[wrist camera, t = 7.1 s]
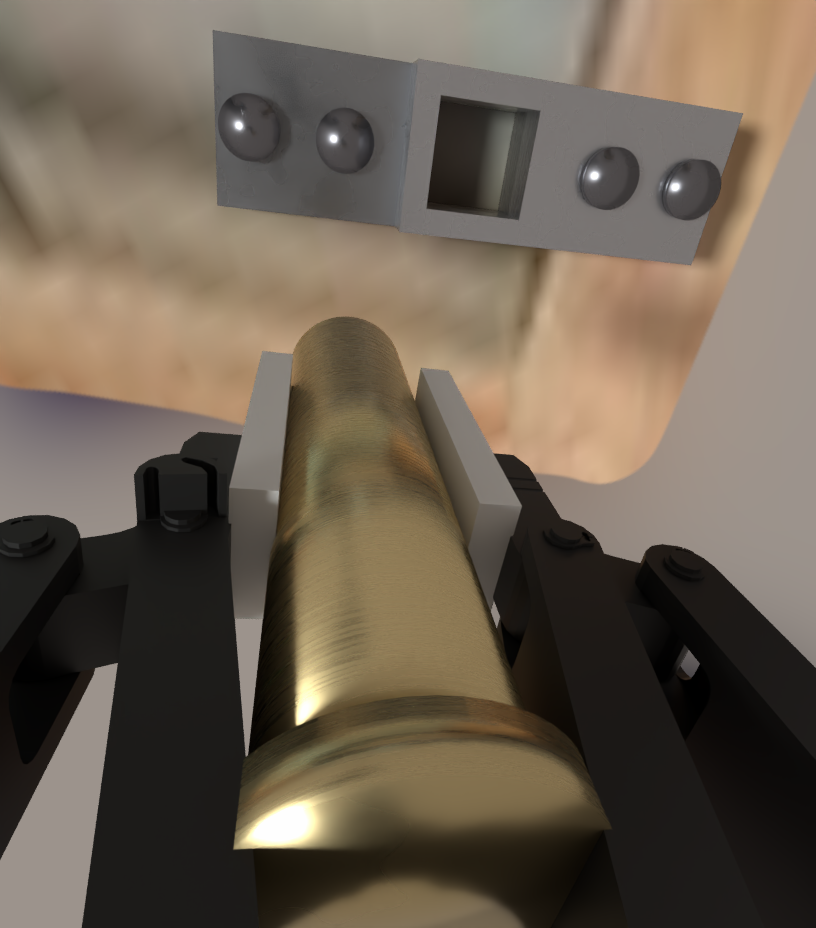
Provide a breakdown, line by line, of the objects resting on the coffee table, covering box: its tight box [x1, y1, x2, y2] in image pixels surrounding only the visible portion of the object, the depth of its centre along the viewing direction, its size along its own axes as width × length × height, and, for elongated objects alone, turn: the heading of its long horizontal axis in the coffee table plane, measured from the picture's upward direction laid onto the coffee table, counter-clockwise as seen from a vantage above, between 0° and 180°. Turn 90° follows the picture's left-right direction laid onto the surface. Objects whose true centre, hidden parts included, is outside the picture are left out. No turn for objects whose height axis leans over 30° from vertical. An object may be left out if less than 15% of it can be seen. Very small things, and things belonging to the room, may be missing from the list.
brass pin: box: [233, 317, 612, 928], centre depth 12 cm, size 4×4×15 cm
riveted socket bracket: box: [213, 30, 743, 265], centre depth 30 cm, size 25×7×5 cm, turn 83°
